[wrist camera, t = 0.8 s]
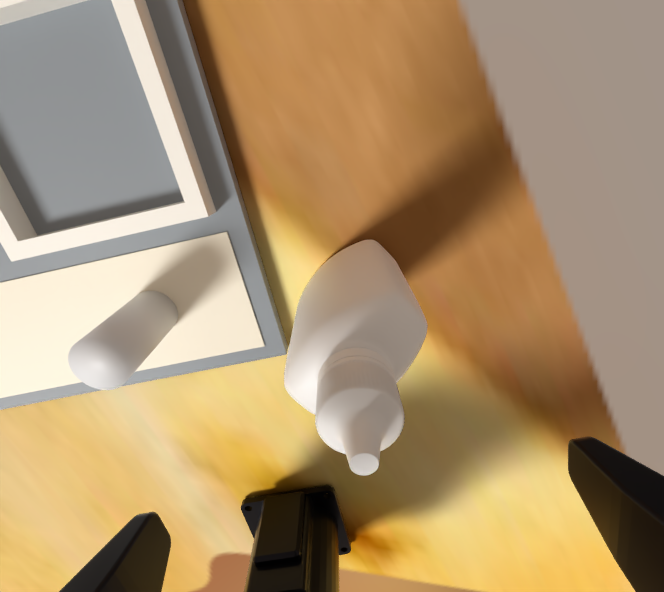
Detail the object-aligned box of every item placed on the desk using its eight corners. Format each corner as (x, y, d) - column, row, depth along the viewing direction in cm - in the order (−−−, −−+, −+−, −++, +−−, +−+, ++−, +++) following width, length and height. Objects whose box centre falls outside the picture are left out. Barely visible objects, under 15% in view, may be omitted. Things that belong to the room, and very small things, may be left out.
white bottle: (406, 307, 20) (495, 505, 9) (307, 332, 21) (279, 546, 10) (389, 231, 19) (472, 359, 8) (282, 259, 19) (217, 418, 8)
